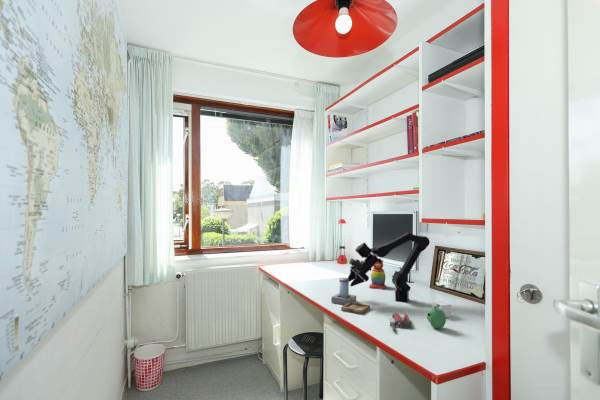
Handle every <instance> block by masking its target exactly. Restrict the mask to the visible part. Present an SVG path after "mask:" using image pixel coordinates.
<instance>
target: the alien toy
mask: <svg viewBox="0 0 600 400" xmlns="http://www.w3.org/2000/svg"><path fill="white" fill-rule="evenodd" d="M437 306H438V307H437ZM437 306H434V307H433V309H432V308H431V309H430V310H429V311H428V313H427V316H426V319H427V320H428V322H429V324H430V326H431V327H433V329H438V330H440V329H442V328H444V326H445V325H446V322H447V317H446V316H445V314H444V312H443V311H442V310H441V309H439V306H440V305H439V304H437Z"/></svg>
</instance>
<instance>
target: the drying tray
mask: <svg viewBox="0 0 600 400" xmlns="http://www.w3.org/2000/svg"><path fill="white" fill-rule="evenodd" d="M370 309H371V305H370V304H367V303H365V304H364V303H360V302H349V303H347V304H346V305H342V306H341V308H340V311H342V312H348V313H352V314H357V315H363V314H365V313H366V312H368V311H369V310H370Z"/></svg>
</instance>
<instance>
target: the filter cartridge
mask: <svg viewBox="0 0 600 400" xmlns="http://www.w3.org/2000/svg"><path fill="white" fill-rule="evenodd" d="M338 280H339V293H340V297H341V298H349V295H350V294H349V292H350V291H349V286H350V285H349V283H350V282H349V279H348V277H340V278H339V279H338Z"/></svg>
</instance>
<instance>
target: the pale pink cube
mask: <svg viewBox="0 0 600 400" xmlns="http://www.w3.org/2000/svg"><path fill="white" fill-rule="evenodd" d="M437 304H439V305H440V306H439V309H441V310H442V311H443V312H444V314H445V316H446V318H452V304H451V303H449V302H446V301H444V300H439V301H432V303H431V306H432V307H431V309H433V307H434V306H437ZM437 307H438V306H437Z"/></svg>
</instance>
